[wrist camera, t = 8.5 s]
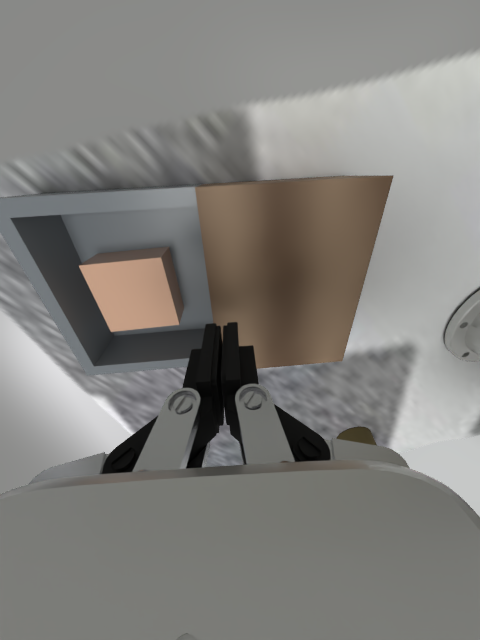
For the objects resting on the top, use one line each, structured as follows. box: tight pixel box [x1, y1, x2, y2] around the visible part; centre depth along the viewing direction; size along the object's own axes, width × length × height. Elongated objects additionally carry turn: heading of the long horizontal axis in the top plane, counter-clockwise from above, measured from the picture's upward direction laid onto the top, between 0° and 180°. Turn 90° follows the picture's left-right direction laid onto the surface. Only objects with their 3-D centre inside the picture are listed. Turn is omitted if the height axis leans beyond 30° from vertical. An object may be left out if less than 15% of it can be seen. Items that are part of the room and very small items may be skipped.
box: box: [0, 184, 213, 375], centre depth 18 cm, size 12×14×5 cm
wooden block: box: [195, 176, 393, 369], centre depth 18 cm, size 11×14×6 cm
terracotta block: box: [79, 247, 184, 332], centre depth 19 cm, size 6×6×3 cm
